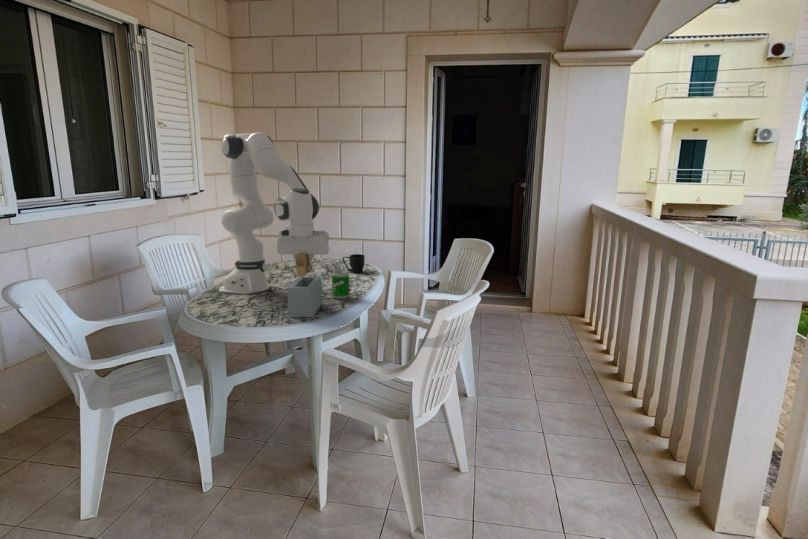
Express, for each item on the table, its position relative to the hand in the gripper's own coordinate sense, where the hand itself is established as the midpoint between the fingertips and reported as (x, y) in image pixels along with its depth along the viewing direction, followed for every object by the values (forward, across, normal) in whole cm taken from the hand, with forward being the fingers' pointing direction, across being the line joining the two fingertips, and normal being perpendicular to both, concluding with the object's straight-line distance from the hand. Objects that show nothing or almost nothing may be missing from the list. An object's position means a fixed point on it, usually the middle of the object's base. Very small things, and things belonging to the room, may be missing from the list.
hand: (304, 265), depth 180 cm
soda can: (+19, -11, -19) cm, 29 cm away
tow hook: (+19, -9, -31) cm, 38 cm away
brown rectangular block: (+3, 0, 0) cm, 3 cm away
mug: (+19, -10, -67) cm, 70 cm away
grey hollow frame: (+19, 0, 0) cm, 19 cm away
